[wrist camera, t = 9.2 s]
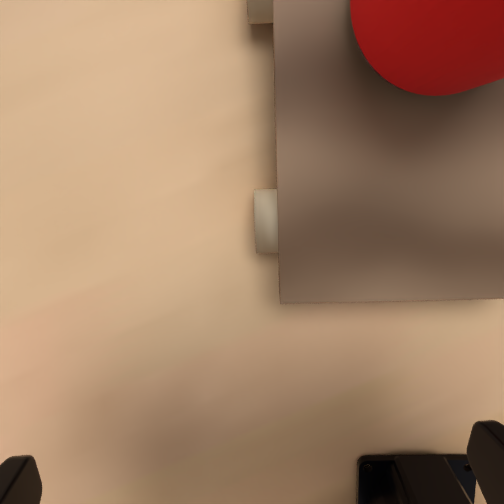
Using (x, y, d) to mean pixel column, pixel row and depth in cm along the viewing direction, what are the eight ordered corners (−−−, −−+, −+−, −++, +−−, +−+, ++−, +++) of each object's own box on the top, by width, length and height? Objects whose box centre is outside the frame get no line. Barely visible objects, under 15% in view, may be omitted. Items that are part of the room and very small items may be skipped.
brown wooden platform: (515, 267, 21) (661, 332, 13) (258, 274, 22) (253, 341, 14) (554, -100, 18) (784, -305, 10) (246, -81, 18) (229, -260, 10)
